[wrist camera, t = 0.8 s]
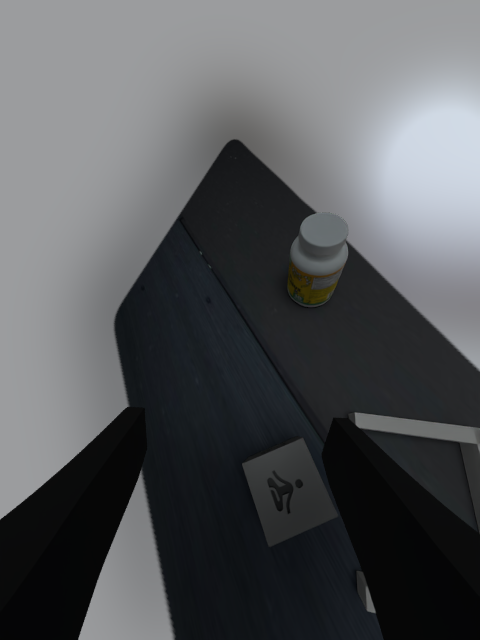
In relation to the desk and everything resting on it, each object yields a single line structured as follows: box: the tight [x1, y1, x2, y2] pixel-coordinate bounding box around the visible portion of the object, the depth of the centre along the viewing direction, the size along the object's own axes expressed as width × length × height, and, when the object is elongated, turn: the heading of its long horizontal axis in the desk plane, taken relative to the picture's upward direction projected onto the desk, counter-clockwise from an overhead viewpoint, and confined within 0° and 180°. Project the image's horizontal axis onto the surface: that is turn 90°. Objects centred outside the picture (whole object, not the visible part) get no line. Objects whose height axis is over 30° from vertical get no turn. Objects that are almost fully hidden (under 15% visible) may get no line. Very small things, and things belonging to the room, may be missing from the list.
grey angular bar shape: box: [348, 412, 480, 613], centre depth 18 cm, size 12×10×2 cm
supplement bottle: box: [287, 213, 348, 307], centre depth 24 cm, size 5×5×10 cm
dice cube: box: [242, 436, 338, 547], centre depth 19 cm, size 5×5×5 cm
